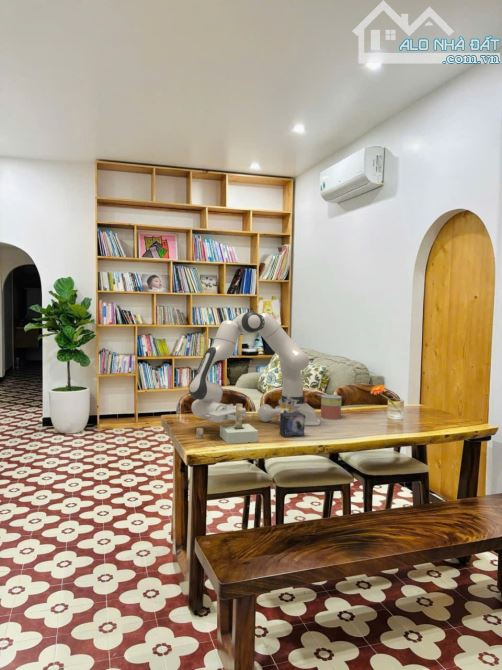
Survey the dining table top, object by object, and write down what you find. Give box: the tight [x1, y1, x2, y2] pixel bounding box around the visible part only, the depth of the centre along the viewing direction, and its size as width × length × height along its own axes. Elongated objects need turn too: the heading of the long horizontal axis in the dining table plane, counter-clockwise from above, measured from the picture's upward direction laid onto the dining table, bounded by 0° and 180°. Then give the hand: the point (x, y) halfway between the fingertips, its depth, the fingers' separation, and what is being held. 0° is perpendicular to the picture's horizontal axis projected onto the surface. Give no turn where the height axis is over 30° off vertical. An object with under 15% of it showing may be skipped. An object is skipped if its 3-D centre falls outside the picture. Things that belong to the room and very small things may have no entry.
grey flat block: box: [219, 423, 259, 445], centre depth 221 cm, size 14×14×5 cm
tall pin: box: [234, 403, 243, 430], centre depth 221 cm, size 3×3×14 cm
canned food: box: [320, 394, 343, 421], centre depth 269 cm, size 11×11×12 cm
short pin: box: [195, 427, 204, 440], centre depth 220 cm, size 3×3×4 cm
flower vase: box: [257, 394, 300, 423], centre depth 250 cm, size 13×18×25 cm
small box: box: [278, 412, 305, 438], centre depth 229 cm, size 11×6×10 cm, turn 106°
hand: (240, 417), depth 220 cm, fingers closed on tall pin, 3 cm apart
